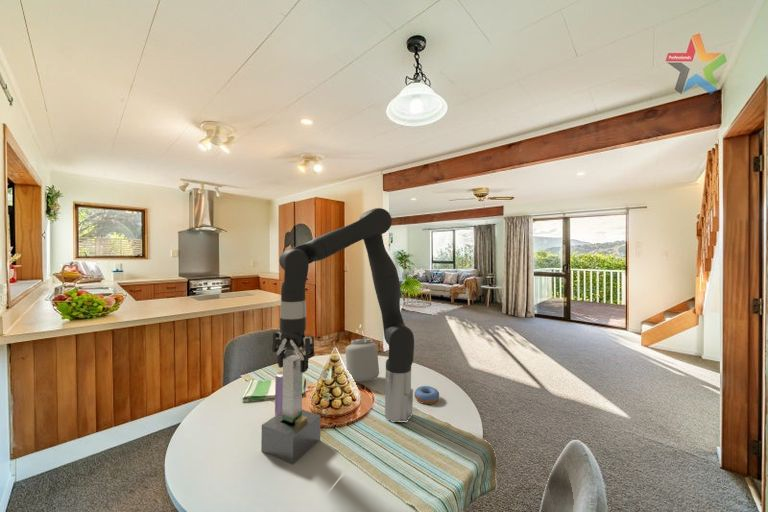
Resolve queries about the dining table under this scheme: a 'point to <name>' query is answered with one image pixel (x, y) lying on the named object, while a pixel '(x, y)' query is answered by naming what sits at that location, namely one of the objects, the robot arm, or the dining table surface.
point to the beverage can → (278, 392)
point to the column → (292, 389)
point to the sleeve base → (290, 436)
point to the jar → (362, 360)
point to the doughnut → (426, 394)
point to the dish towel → (262, 390)
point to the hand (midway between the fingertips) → (292, 369)
